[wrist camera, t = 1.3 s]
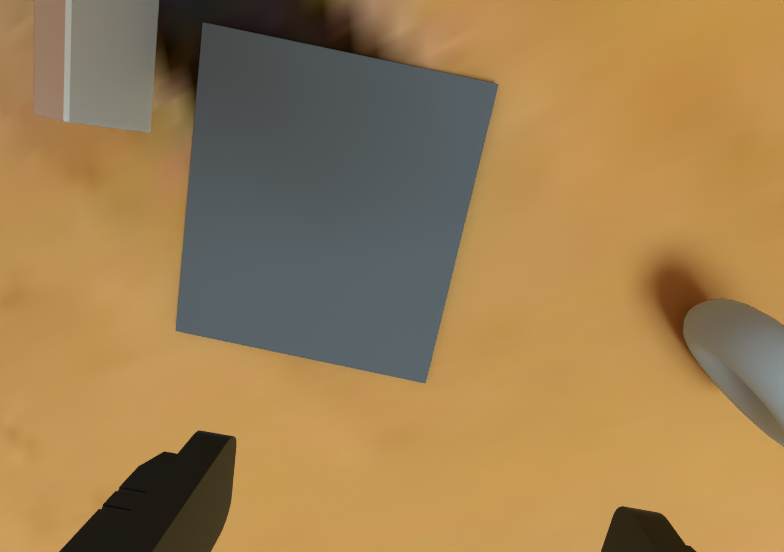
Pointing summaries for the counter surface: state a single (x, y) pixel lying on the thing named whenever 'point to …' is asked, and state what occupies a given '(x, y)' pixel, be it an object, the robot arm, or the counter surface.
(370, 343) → the mat
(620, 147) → the counter surface
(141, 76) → the tile
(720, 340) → the donut
